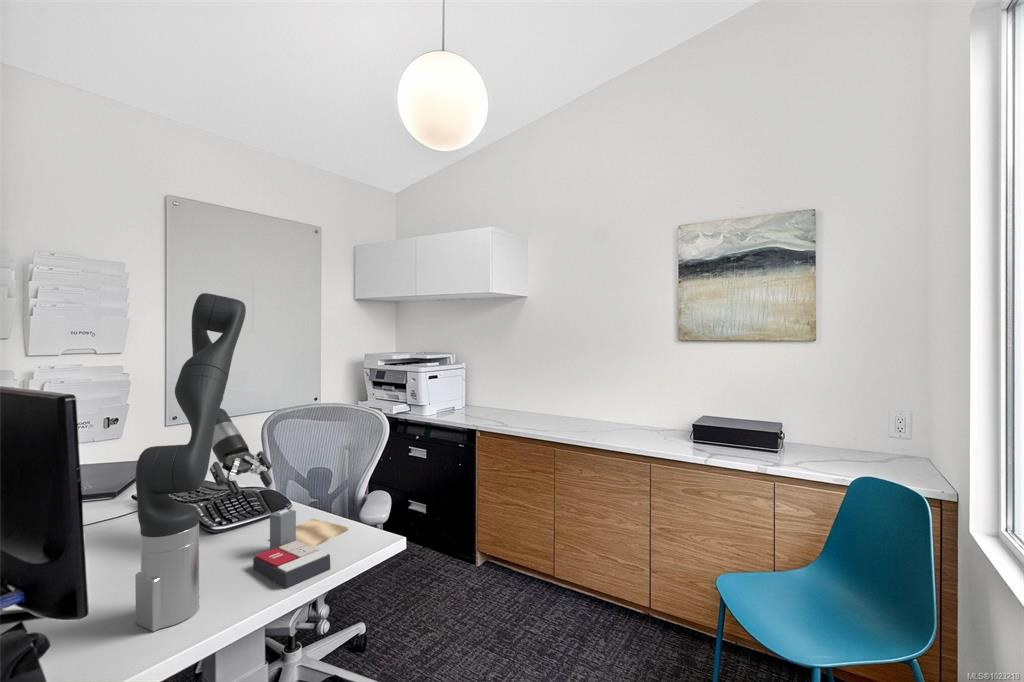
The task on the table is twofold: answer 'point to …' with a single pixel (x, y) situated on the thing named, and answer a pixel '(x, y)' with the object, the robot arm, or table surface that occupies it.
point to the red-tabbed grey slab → (291, 563)
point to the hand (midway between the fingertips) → (254, 489)
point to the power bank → (282, 528)
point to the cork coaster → (317, 532)
